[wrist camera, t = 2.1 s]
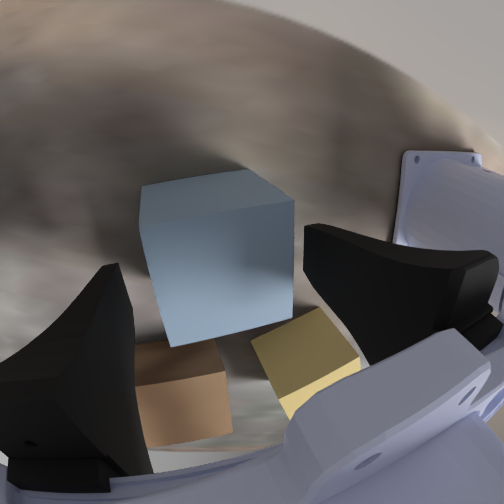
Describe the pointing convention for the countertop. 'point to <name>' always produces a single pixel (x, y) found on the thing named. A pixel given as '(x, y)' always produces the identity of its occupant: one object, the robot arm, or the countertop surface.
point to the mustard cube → (305, 358)
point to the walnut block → (181, 392)
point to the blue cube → (218, 253)
